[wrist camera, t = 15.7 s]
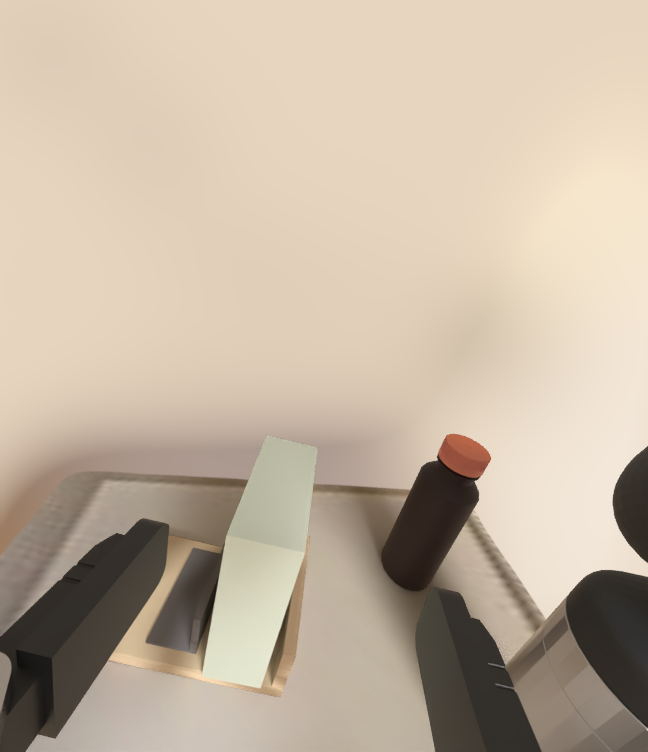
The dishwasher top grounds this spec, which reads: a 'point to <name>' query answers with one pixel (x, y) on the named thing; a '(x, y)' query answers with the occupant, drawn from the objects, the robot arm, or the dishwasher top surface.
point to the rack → (199, 619)
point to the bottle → (435, 512)
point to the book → (261, 562)
